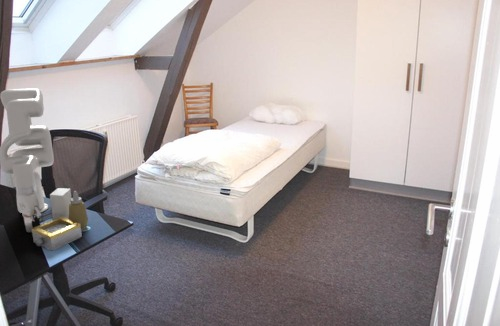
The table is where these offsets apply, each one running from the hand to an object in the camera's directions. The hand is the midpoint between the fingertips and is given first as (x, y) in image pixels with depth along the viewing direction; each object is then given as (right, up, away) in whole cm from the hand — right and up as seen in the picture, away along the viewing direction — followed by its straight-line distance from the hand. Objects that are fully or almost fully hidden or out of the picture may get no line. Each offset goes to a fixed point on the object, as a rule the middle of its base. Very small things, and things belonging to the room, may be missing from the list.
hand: (32, 225), depth 176 cm
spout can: (0, -1, +1) cm, 2 cm away
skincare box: (+9, 0, +11) cm, 14 cm away
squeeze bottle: (+19, -2, +5) cm, 20 cm away
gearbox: (+14, -5, -5) cm, 16 cm away
